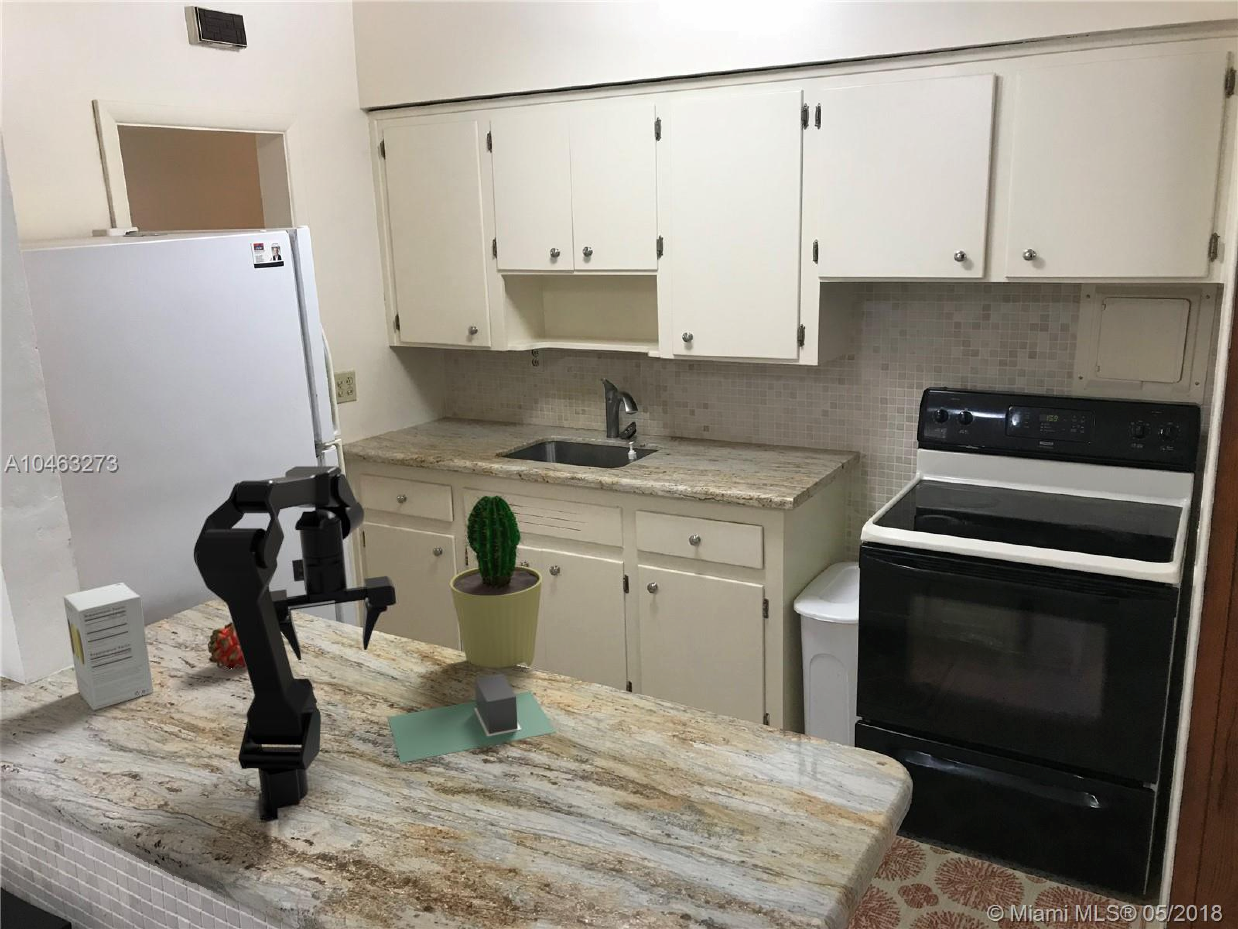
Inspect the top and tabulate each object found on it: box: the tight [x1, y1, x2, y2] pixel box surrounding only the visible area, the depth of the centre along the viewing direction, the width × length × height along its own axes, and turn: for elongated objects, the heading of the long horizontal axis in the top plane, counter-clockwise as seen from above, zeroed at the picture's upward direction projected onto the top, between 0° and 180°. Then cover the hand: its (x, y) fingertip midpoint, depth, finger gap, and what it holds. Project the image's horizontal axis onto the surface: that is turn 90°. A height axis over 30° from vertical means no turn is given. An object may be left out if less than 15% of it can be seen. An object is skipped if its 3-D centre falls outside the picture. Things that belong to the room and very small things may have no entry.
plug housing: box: [474, 673, 518, 734], centre depth 144 cm, size 11×4×5 cm, turn 20°
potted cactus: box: [449, 494, 543, 669], centre depth 164 cm, size 15×15×30 cm
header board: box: [387, 690, 557, 764], centre depth 142 cm, size 14×22×4 cm, turn 110°
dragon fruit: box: [207, 621, 246, 670], centre depth 168 cm, size 8×8×12 cm
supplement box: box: [62, 582, 154, 711], centre depth 157 cm, size 10×9×17 cm
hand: (332, 654), depth 142 cm, fingers open, 9 cm apart
